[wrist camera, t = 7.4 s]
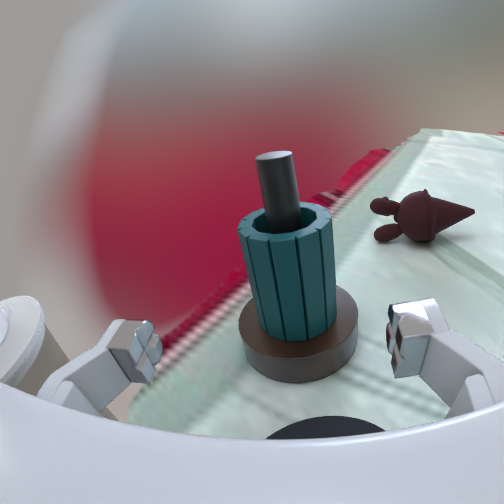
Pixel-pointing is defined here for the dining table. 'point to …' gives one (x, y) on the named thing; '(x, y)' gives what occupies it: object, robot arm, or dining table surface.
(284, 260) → the teal ribbed hollow cylinder
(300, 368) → the holder
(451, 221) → the icecream
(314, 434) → the coaster
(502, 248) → the dining table surface
